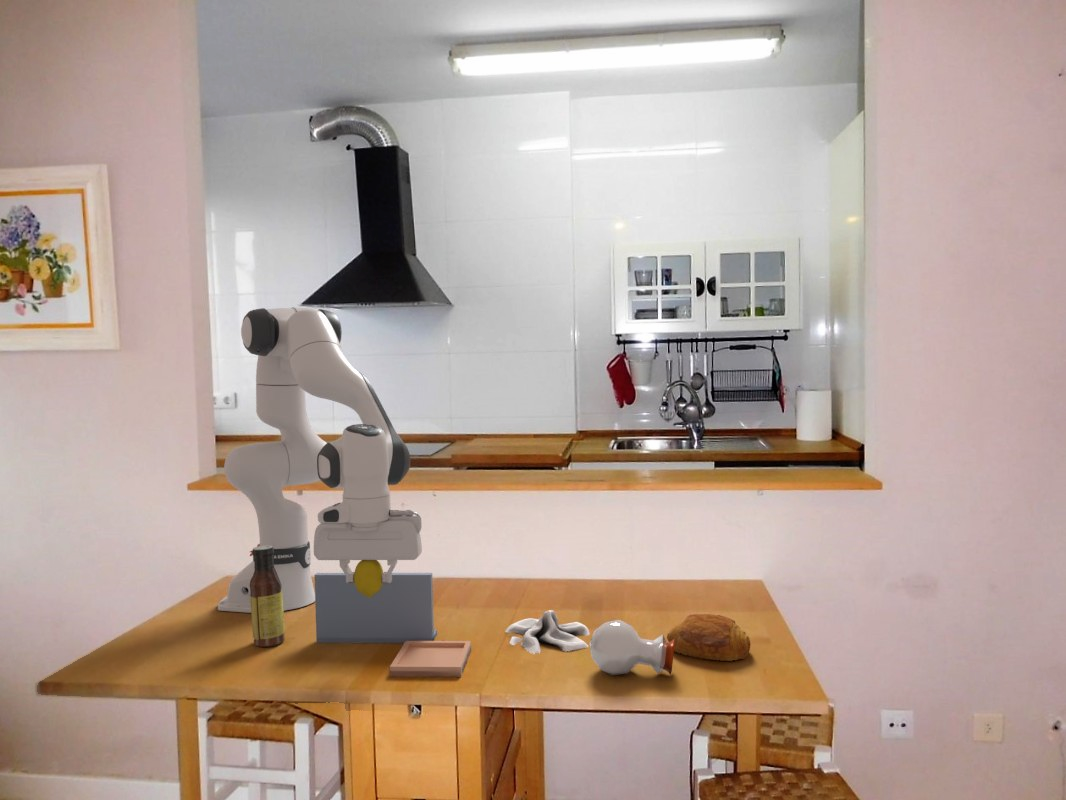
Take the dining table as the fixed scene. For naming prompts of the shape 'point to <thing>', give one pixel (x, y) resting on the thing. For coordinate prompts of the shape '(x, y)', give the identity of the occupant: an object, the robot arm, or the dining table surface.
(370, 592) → the lemon
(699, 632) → the croissant
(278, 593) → the sauce bottle
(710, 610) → the dining table surface
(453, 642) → the dish
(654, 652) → the potion bottle
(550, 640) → the cloth
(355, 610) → the screen
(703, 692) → the dining table surface
